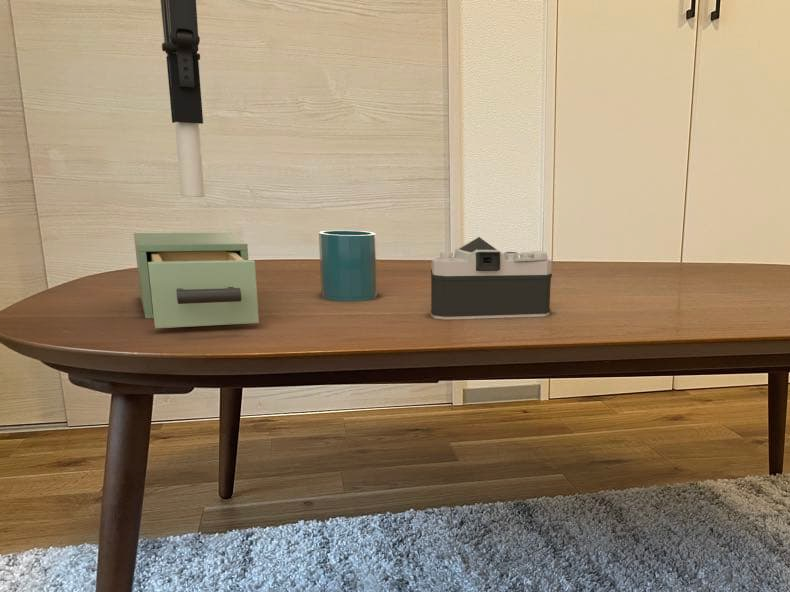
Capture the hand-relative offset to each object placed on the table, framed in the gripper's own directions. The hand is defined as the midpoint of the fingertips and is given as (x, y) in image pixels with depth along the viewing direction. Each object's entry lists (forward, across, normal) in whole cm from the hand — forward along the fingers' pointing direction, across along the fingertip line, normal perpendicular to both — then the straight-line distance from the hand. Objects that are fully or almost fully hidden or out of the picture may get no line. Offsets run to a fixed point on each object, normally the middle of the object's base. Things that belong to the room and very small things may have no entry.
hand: (187, 122), depth 82 cm
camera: (+22, -4, -34) cm, 41 cm away
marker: (+8, 0, 0) cm, 8 cm away
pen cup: (+22, +12, -20) cm, 32 cm away
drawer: (+21, -2, 0) cm, 21 cm away
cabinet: (+22, +10, 0) cm, 24 cm away
